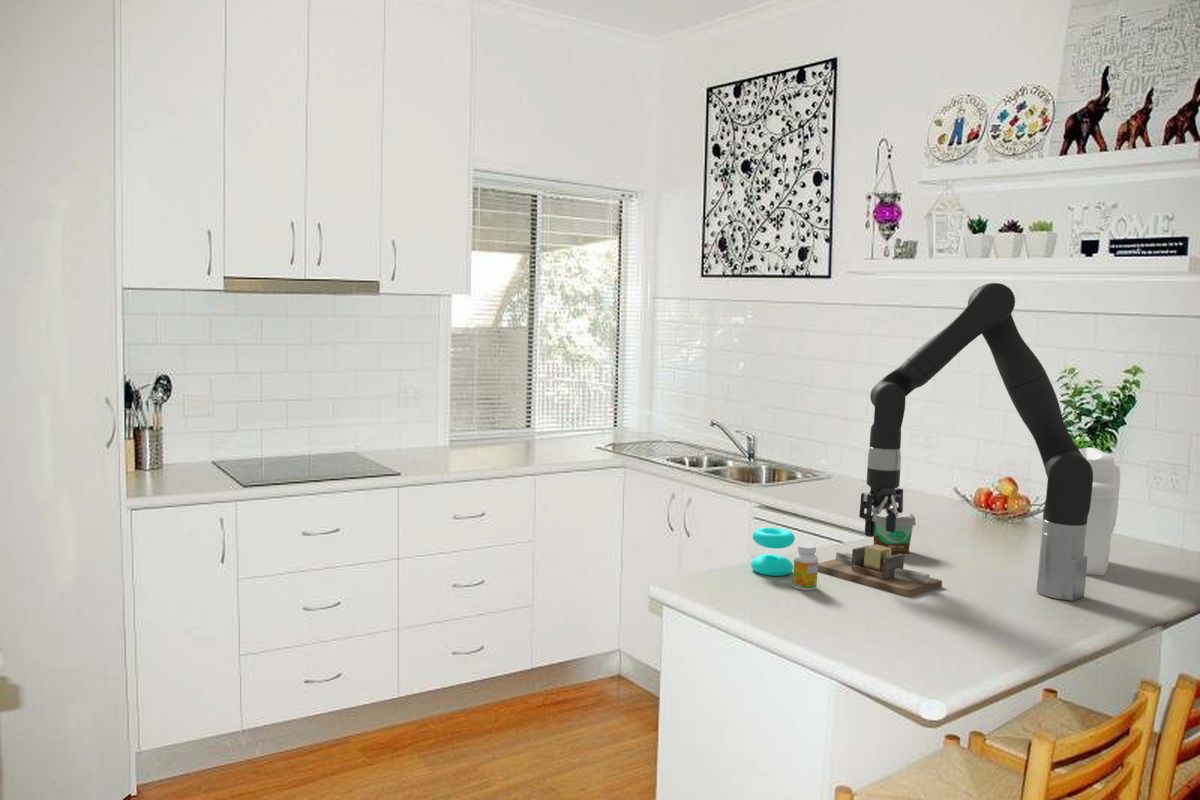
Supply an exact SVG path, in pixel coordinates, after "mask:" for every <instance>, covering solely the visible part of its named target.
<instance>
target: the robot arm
mask: <svg viewBox="0 0 1200 800" xmlns="http://www.w3.org/2000/svg"><path fill="white" fill-rule="evenodd" d="M1015 306H1016V297H1015V295H1014V292H1013V291H1012V289H1011V288H1010V287H1009V286H1007V285H1006V284H1004V283H1000V282H992V283H985V284H983V285H981V286H979V287H977V288H976V289H974V290H973V291H972V292H971V294H970V295H969V297H968V300H967V306H966V307H965V308H964V309H963V311H961V313H960V314H958V316H957V317H956V318H955V319H953V321H952V322H951V323H949V324H948V325H947V326H946V327H944V328H943V329H941V331H939V332H938V333H936V334H935V335H933V336H932V337H931V338H930V339H929V340H927V341H926V342H924V343H923V345H921V346H920V347H919V348H918V349H916V351H914V352H913V353H912V354H911V355H910V356H909V357H907V359H905V360H904V361H903V362H902V363H901V365H900V366H899V367H897V368H895V369H893V371H891V372H890V373H888V374H887V375H885V376H884V377H883V378H882V379H880V380H879V381H878V382H877V383H876V384H875V385H874V386H873V387H872V389H871V391H870V397H869V398H870V402H871V403H872V405H873V407H874V413H873V414H874V416H873V423H872V425H871V427H870V433H869V449H868V455H867V467H866V485H867V486H868V487H870V491H869V493H867V492H861V494H860V503H859V505H860V507H859V514H858V515H859V518H861V519H863V520H864V521H865V523H864V535H865V536H866V537H870V538H874V536H875V519H876V517H877V516H879V515H880V514H881V512H882V511H884V510H885V513H886V514H887V515H886V516H885V517H886V531H888V532H895V528H896V517H897V516H898V517H899V514H902V513H903V512H904V511H903V510H904V489H903V488H900V481H901V467H902V466H901V465H902V462H901V461H902V456H901V454H902V453H901V445H902V443H901V442H902V426H903V422H904V416H905V410H906V397H907V396H908V395H910V393H911V392H913V391H914V390H915V389H918V388H920V387H923V386H924V385H926V384H927V383H928V382H929V381H930V380H931V379H932V378H933V377H935V376H936V375H937V374H938V373H939V372H940V371H941V370H942V369H943V368H945V366H946V365H947V364H948V363H950V362H951V361H952V360H953V359H954V358H955V357H956V356H957V355H958V354H959V353H961V352H962V350H963V349H965V348H966V347H967V346H969V344H970V343H972V342H973V341H974V340H975V339H976V338H978V337H979V336H980V335H982V337H983V338H984V340H985V343H987V346H988V348H989V349H990V352H991V354H992V357H993V360H994V363H995V365H996V368H997V370H998V373H999V375H1000V377H1001V379H1002V382H1003V385H1004V387H1005V389H1006V392H1007V394H1008V396H1009V397H1010V400H1011V401H1012V405H1013V406H1014V408H1015V410H1016V411H1017V413H1018V415H1019V417H1020V418H1021V420H1022V422H1023V423H1024V425H1025V426H1026V427H1027V429H1028V431H1029V433H1030V434H1031V436H1032V437H1033V440H1034V442H1035V444H1036V447H1037V450H1038V453H1039V455H1040V458H1041V461H1042V464H1043V468H1044V471H1045V474H1046V477H1047V483H1046V496H1045V503H1044V507H1043V511H1042V512H1043V513H1042V523H1041V524H1042V526H1041V534H1040V535H1041V536H1040V546H1039V547H1040V548H1039V558H1038V559H1039V560H1038V561H1039V562H1038V570H1037V571H1038V572H1037V581H1036V592H1037V593H1038V594H1039V595H1042V596H1044V597H1048V598H1050V599H1051V598H1052V599H1056V600H1065V601H1070V602H1074V601H1076V600H1078V599H1081V598H1084V597H1085V592H1086V591H1085V590H1086V579H1087V574H1086V570H1087V559H1088V557H1087V556H1084V551H1085V539H1086V528H1087V518H1088V514H1089V511H1090V504H1091V495H1092V485H1093V470H1092V467H1091V465H1090V463H1089V462H1088V461H1087V460H1086V459H1085V458H1084V456H1083V455H1082V454H1081V453H1080V451H1079V449H1080V448H1078V446H1077V445H1076V443H1075V442H1074V440H1073V438H1072V436H1071V435H1070V433H1069V430H1068V428H1067V426H1066V424H1065V422H1064V416H1063V413H1062V411H1061V407H1060V404H1059V403H1060V402H1059V400H1058V397H1057V394H1056V392H1055V389H1054V386H1053V384H1052V382H1051V380H1050V378H1049V376H1048V373H1047V372H1046V369H1045V368H1044V366H1043V365H1042V363H1041V361H1040V360H1039V359H1038V357H1037V356H1036V355H1035V353H1034V351H1033V350H1032V349H1031V348H1030V347H1029V346H1028V344H1027V342H1025V340H1024V339H1023V337H1022V336H1021V334H1020V332H1019V330H1018V328H1017V326H1016V323H1015V321H1014V318H1013V315H1012V313H1013V311H1014V309H1015ZM865 509H866V511H865Z"/></svg>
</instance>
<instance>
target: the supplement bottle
mask: <svg viewBox="0 0 1200 800" xmlns="http://www.w3.org/2000/svg"><path fill="white" fill-rule="evenodd" d="M816 551H817V548H816V545H814V544H811V543H799V544H797V553H796V554H795V555H794V558H793V559H794V560H793V570H792V571H793V573H792V574H793V575H792V587H793V588H794V589H797V590H801V591H813V590H816V589H817V584H818V583H817V582H818V572H819V571H818V563H819V557H818V556H817V555H816V554H815V553H816Z"/></svg>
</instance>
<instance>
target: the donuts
mask: <svg viewBox="0 0 1200 800" xmlns="http://www.w3.org/2000/svg"><path fill="white" fill-rule="evenodd" d="M795 537H796V536H795V534H794V533H793V532H792V531H790V530H788V529H785V528H778V527H760V528H757V529H756V530H753V532H752V540H753V541H754V543H756V544H757V545H759V546H761V547H763V548H768V549H785V548H788V547H790V546H792V545H793V544H794V542H795V540H796V539H795ZM750 566H751V569H752V570H753V571H754V572H755V573H757V574H760V575H763V576H771V577H782V576H787V575H789V574H790V573H792V571H793V570H794V563H793V562H792V561H791V560H790V558H789V559H788V558H787V557H786V556H783V555H780V554H779V555H778V554H772V553H771V554H768V553H767V554H766V553H764V554H759V555H757V556H755V557H754V558H753V559H752V560H751V562H750Z"/></svg>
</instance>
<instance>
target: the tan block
mask: <svg viewBox="0 0 1200 800" xmlns="http://www.w3.org/2000/svg"><path fill="white" fill-rule="evenodd" d="M865 546H866V547H865V556H864V568H867V569H871V570H875V571H878V572H882V573H884V565H885V557H888V556H892V555H891V552H892V548H889V547H885V546H881V545H877V544H875V545H874V544H872V545H869V546H868V545H865Z"/></svg>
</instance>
